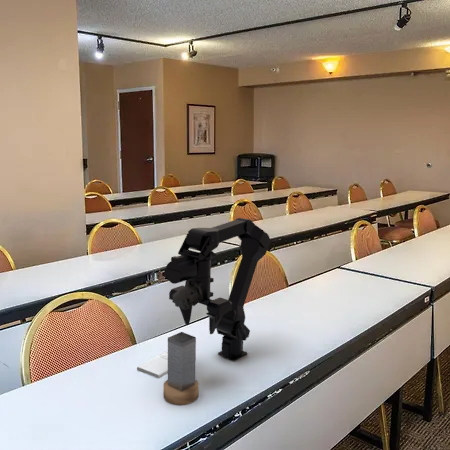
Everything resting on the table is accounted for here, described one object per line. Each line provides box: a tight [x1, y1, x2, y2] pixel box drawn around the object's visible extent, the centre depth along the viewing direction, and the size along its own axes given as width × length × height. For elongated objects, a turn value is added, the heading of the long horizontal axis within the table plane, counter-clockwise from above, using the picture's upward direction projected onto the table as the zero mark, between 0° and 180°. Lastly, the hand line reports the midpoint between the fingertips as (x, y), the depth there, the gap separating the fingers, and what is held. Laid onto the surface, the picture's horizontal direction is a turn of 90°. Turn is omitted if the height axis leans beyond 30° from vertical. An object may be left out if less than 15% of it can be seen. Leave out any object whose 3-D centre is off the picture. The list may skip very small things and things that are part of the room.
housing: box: [167, 331, 197, 392], centre depth 129 cm, size 5×5×13 cm
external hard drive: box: [136, 351, 168, 379], centre depth 147 cm, size 2×8×12 cm
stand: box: [162, 379, 200, 406], centre depth 131 cm, size 9×9×3 cm
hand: (199, 329), depth 141 cm, fingers open, 9 cm apart
